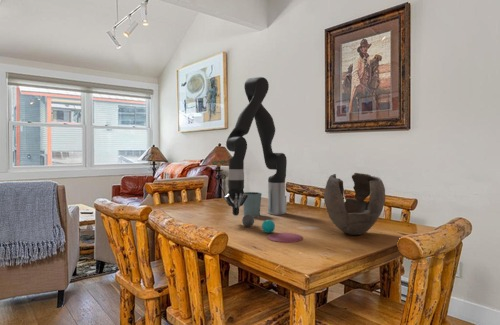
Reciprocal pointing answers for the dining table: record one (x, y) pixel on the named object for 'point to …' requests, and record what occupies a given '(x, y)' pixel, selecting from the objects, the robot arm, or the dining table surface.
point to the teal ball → (268, 226)
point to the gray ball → (248, 220)
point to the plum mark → (284, 237)
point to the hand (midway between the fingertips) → (235, 215)
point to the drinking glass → (252, 204)
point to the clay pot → (355, 203)
